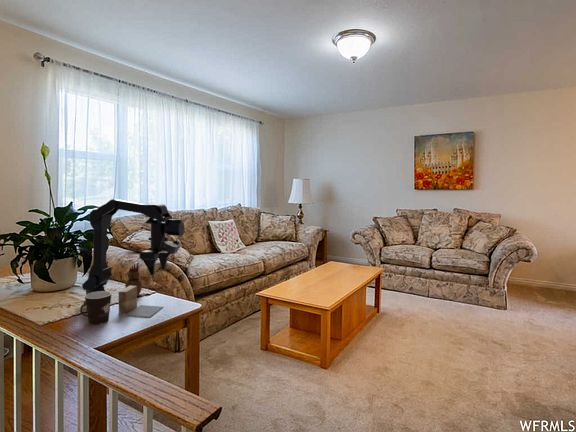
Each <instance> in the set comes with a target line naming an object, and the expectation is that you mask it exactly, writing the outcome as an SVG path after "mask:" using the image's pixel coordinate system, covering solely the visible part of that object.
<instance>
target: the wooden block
mask: <svg viewBox="0 0 576 432" xmlns="http://www.w3.org/2000/svg"><path fill="white" fill-rule="evenodd" d="M136 307H138V295H137V286H128V287H126V288H122V289H120V290H119V291H118V315H126V314H127V313H129V312H130V311H132V310H133V309H135V308H136Z"/></svg>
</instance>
